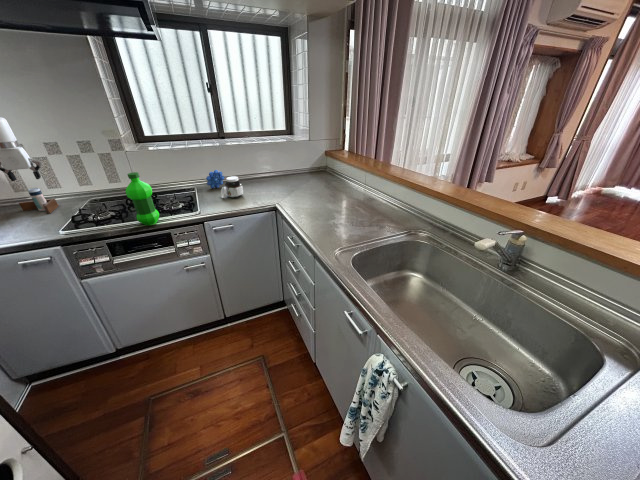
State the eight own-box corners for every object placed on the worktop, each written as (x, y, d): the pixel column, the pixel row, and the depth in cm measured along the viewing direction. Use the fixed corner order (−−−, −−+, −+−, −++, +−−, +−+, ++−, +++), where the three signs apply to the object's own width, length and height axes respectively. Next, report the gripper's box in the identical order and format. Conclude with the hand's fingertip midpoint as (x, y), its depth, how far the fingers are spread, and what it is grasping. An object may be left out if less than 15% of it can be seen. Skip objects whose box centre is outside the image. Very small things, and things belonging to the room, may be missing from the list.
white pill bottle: (52, 207, 149) (40, 187, 143) (49, 210, 146) (37, 189, 140) (41, 209, 148) (29, 188, 142) (37, 212, 144) (25, 191, 138)
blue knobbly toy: (225, 184, 184) (221, 167, 178) (226, 187, 178) (223, 170, 172) (207, 187, 179) (203, 169, 173) (208, 190, 174) (204, 172, 168)
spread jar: (245, 196, 165) (243, 177, 159) (231, 201, 157) (228, 182, 151) (232, 192, 171) (229, 174, 165) (218, 197, 162) (214, 179, 156)
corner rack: (13, 218, 137) (8, 210, 135) (24, 209, 147) (19, 202, 144) (50, 213, 143) (46, 205, 140) (58, 205, 152) (54, 198, 150)
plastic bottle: (166, 219, 136) (151, 171, 124) (151, 228, 127) (133, 177, 115) (149, 217, 138) (132, 169, 125) (133, 226, 129) (113, 176, 117)
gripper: (-21, 147, 123) (0, 183, 132) (27, 145, 129) (45, 180, 138) (-12, 144, 129) (8, 179, 138) (34, 142, 135) (50, 176, 144)
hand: (26, 179), depth 138 cm, fingers open, 9 cm apart
